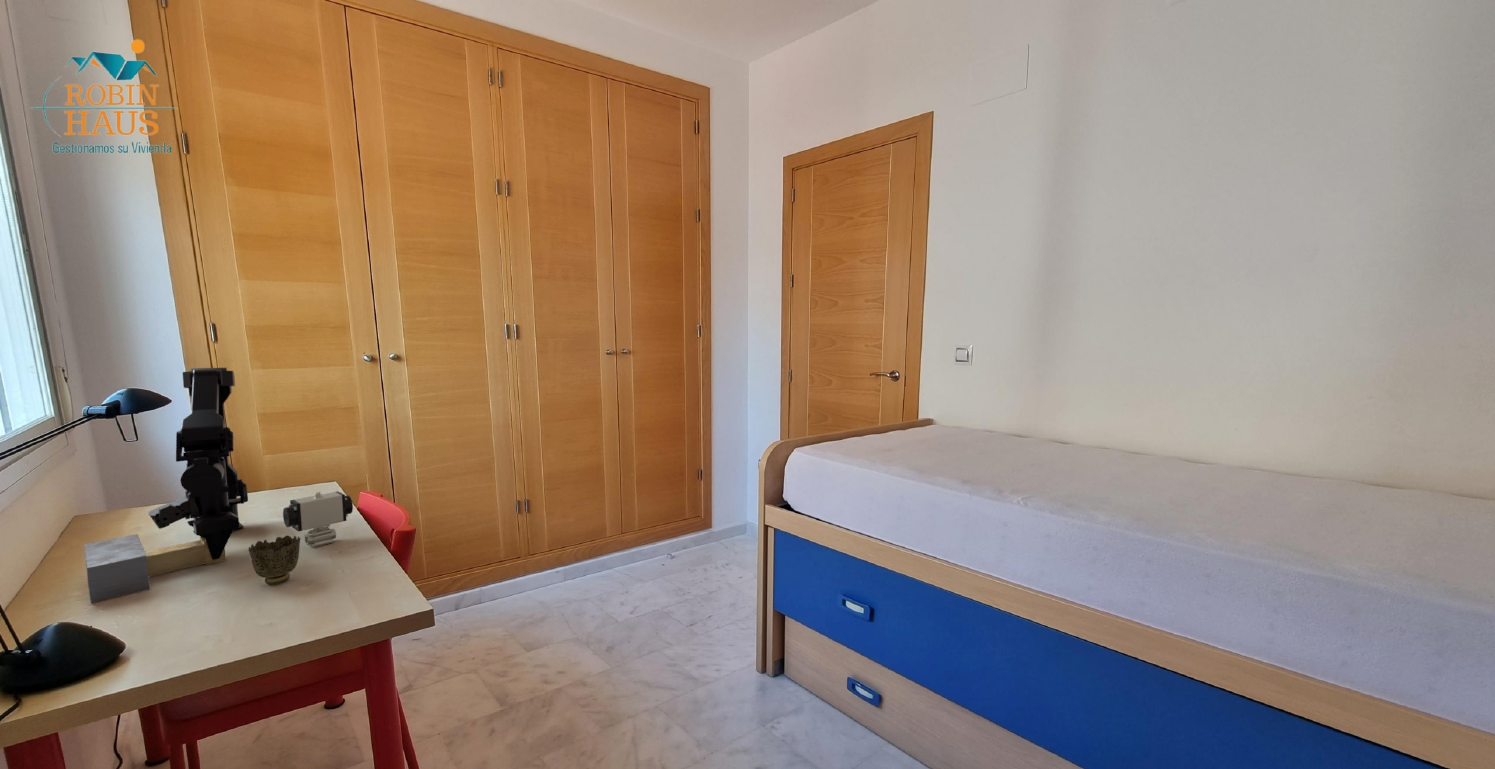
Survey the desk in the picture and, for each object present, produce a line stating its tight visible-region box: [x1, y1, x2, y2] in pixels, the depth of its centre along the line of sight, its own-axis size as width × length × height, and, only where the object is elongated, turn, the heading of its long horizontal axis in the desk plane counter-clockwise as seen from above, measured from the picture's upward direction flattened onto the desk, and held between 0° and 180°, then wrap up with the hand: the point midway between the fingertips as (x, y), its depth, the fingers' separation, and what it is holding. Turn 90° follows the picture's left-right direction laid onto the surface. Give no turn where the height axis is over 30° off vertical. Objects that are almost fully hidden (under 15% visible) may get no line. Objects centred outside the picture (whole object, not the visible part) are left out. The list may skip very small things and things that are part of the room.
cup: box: [248, 534, 301, 586], centre depth 103 cm, size 8×7×8 cm
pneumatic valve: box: [282, 491, 354, 548], centre depth 123 cm, size 6×12×12 cm, turn 144°
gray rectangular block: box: [83, 533, 151, 605], centre depth 103 cm, size 7×18×6 cm, turn 52°
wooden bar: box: [145, 536, 227, 577], centre depth 109 cm, size 15×5×5 cm, turn 142°
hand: (213, 555), depth 114 cm, fingers closed on wooden bar, 5 cm apart
